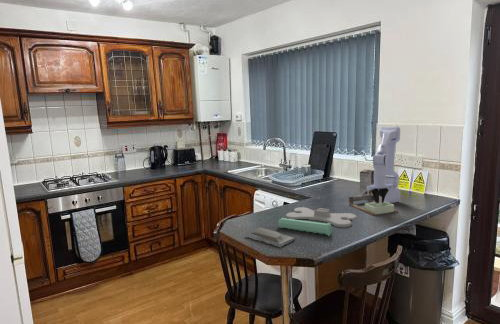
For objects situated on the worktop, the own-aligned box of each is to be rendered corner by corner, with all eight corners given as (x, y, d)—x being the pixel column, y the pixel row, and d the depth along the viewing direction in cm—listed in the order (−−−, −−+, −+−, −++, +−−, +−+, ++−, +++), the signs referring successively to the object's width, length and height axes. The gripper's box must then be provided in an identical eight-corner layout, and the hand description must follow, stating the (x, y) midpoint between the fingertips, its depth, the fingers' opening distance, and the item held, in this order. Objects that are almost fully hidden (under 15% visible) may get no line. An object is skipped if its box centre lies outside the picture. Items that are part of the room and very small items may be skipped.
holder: (348, 229, 155) (348, 219, 155) (282, 219, 174) (282, 210, 173) (359, 217, 171) (359, 208, 170) (297, 209, 189) (297, 201, 189)
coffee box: (364, 193, 217) (364, 169, 214) (374, 195, 213) (374, 170, 210) (359, 196, 210) (359, 171, 207) (369, 198, 206) (369, 172, 203)
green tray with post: (383, 207, 182) (384, 193, 181) (393, 211, 174) (394, 197, 173) (364, 210, 179) (364, 196, 178) (374, 214, 171) (374, 199, 170)
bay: (369, 202, 196) (369, 193, 196) (397, 213, 174) (398, 203, 173) (346, 205, 192) (346, 195, 192) (372, 217, 170) (372, 206, 169)
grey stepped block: (280, 249, 136) (280, 241, 136) (244, 238, 150) (244, 230, 149) (295, 241, 144) (294, 233, 143) (259, 231, 157) (259, 224, 157)
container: (277, 215, 159) (328, 222, 146) (282, 217, 164) (332, 223, 151) (275, 228, 158) (326, 236, 145) (280, 229, 163) (331, 236, 150)
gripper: (372, 179, 168) (372, 205, 170) (396, 177, 172) (396, 202, 174) (364, 177, 175) (363, 202, 177) (387, 174, 179) (387, 199, 181)
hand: (379, 202), depth 176 cm, fingers closed on green tray with post, 2 cm apart
